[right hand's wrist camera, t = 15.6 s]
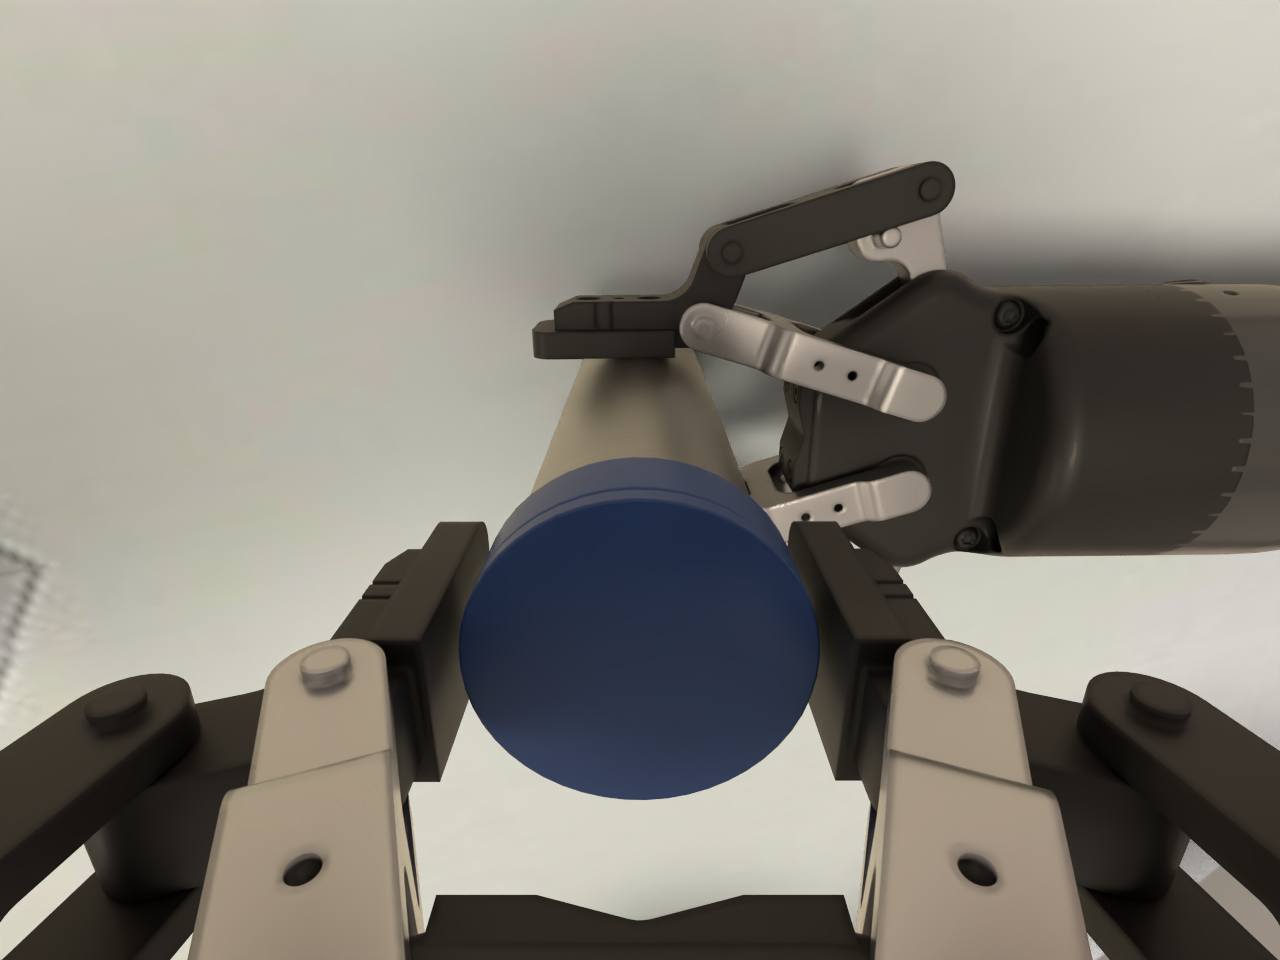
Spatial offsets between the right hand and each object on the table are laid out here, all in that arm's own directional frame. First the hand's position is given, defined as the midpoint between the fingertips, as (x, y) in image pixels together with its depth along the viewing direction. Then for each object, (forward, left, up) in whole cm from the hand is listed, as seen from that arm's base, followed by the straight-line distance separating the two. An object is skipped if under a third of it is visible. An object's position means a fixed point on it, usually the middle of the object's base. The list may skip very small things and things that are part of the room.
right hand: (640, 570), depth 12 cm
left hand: (-1, -2, -8) cm, 8 cm away
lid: (0, 0, +3) cm, 3 cm away
